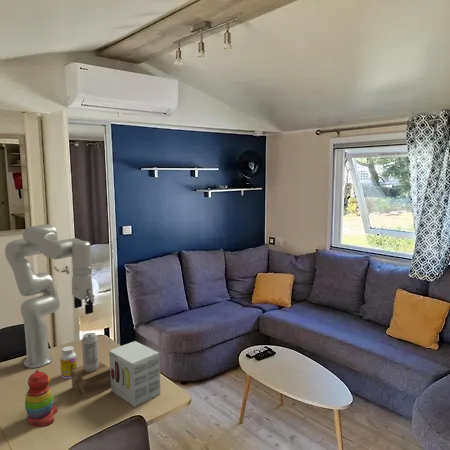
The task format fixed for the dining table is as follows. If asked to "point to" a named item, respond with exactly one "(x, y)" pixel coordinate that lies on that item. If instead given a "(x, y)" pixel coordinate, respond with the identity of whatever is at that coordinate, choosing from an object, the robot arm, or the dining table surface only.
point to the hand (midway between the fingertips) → (83, 310)
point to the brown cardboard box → (91, 380)
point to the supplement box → (135, 372)
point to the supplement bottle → (68, 362)
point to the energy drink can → (90, 352)
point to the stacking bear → (39, 400)
